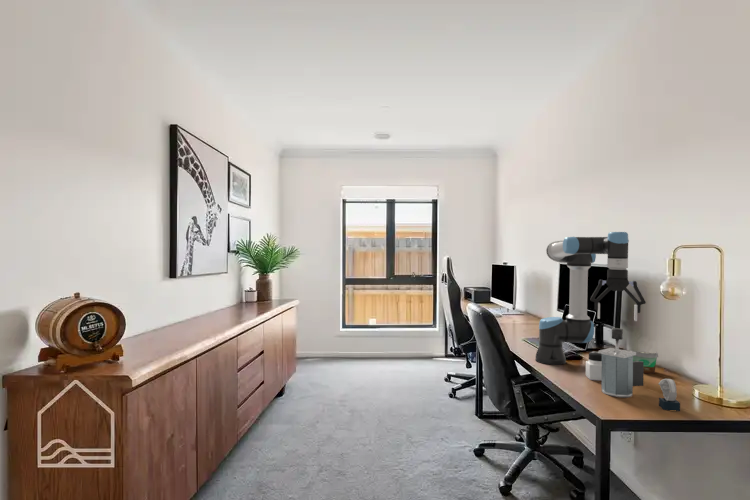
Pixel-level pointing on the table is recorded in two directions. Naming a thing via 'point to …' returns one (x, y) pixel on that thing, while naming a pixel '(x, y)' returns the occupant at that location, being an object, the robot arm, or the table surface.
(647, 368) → the food container
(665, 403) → the watch
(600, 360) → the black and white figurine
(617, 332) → the plunger
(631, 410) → the table surface
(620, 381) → the press
